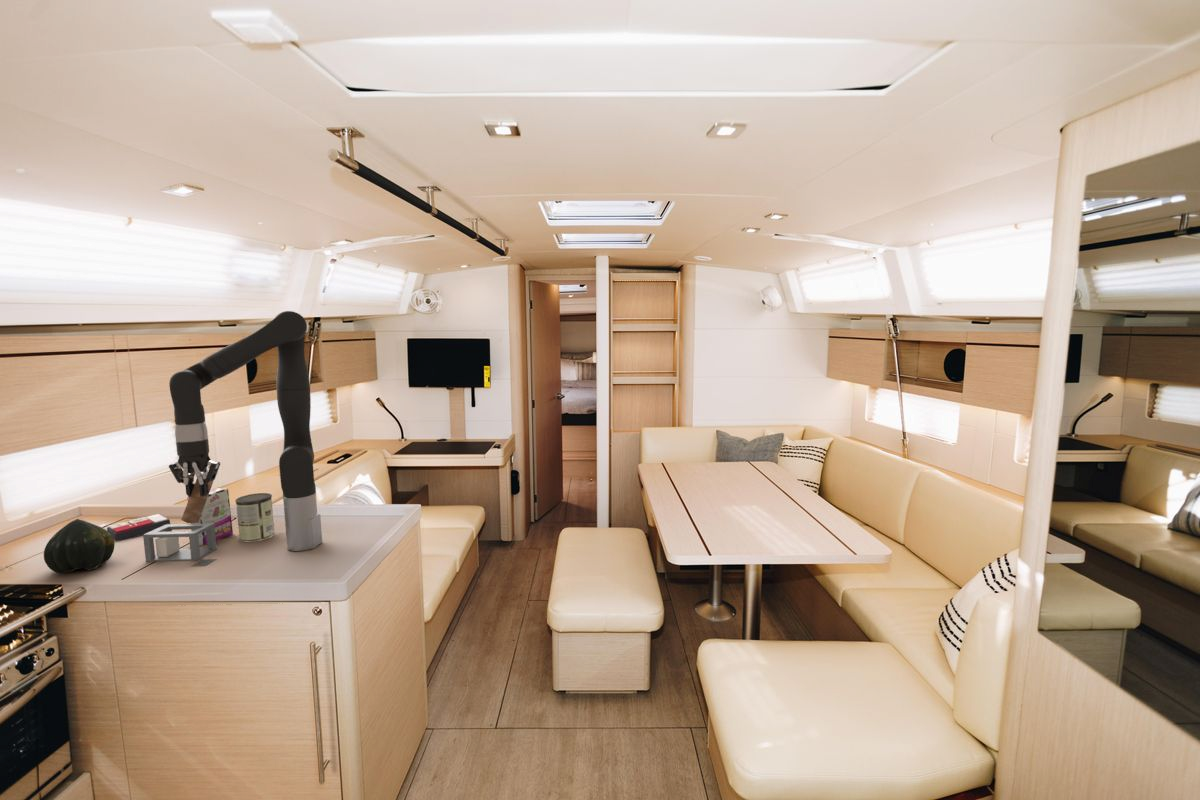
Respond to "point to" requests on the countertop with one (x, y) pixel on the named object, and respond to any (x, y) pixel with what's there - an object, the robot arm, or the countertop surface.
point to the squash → (78, 547)
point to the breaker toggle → (167, 546)
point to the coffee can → (255, 517)
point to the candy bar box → (216, 514)
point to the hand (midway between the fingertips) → (197, 495)
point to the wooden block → (195, 504)
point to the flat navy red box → (137, 527)
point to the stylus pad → (204, 562)
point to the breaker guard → (166, 531)
